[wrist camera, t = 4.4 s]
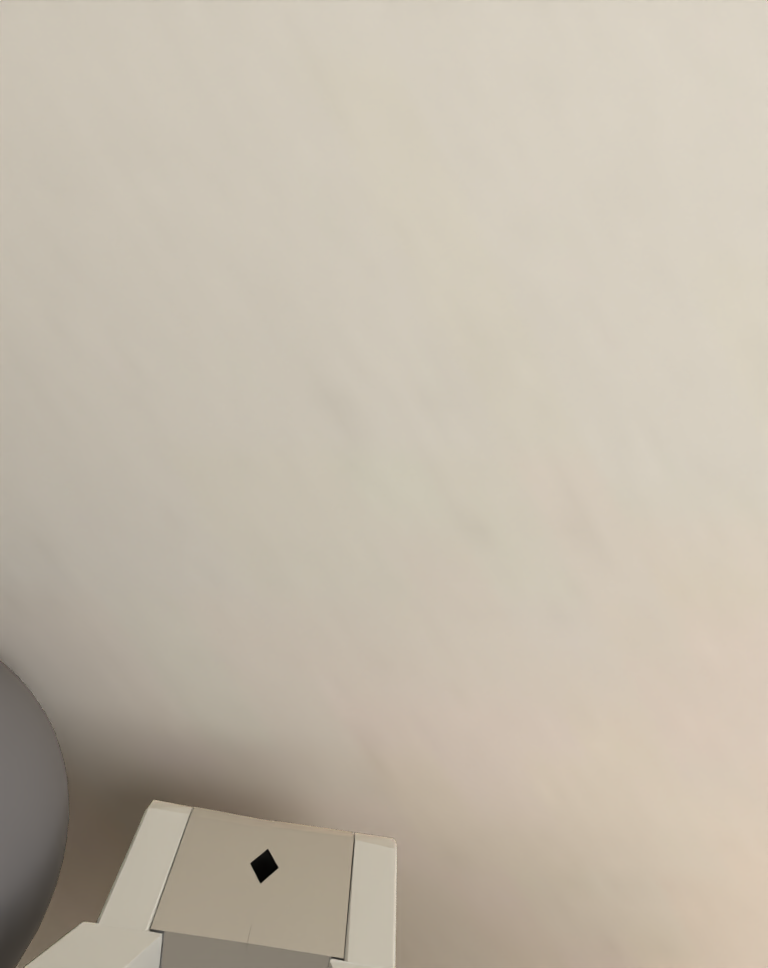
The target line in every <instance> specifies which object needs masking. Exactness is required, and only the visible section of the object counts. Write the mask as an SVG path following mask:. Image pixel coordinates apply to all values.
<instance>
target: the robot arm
mask: <svg viewBox="0 0 768 968" xmlns="http://www.w3.org/2000/svg"><path fill="white" fill-rule="evenodd" d="M396 877H397V845H396V842H395V840H394V838H388V837H381V836H375V835H368V834H362V833H354V835H353V832H350V831H343V830H337V829H330V828H323V827H316V826H309V825H303V824H296V823H289V822H282V821H270V820H264V819H259V818H254V817H248V816H243V815H238V814H232V813H227V812H221V811H216V810H211V809H205V808H200V807H191V806H185V805H180V804H174V803H169V802H164V801H158V800H153V801H152V802H151V804H150V805H149V806H148V808H147V809H146V810H145V812H144V815H143V817H142V819H141V822H140V824H139V826H138V828H137V831H136V833H135V835H134V838H133V840H132V842H131V845H130V847H129V849H128V851H127V854H126V856H125V858H124V861H123V863H122V865H121V868H120V870H119V872H118V874H117V877H116V879H115V881H114V884H113V886H112V888H111V890H110V893H109V895H108V897H107V900H106V902H105V904H104V907H103V909H102V911H101V913H100V916H99V918H98V920H97V923H94V922H85V921H83V922H81V923H80V924H79V925H77V926H76V927H75V928H74V929H72V930H71V931H70V932H68V933H67V934H66V935H65V936H63V937H62V938H61V939H59V940H58V941H57V942H56V943H54V944H53V945H52V946H50V947H49V948H48V949H47V950H45V951H44V952H43V953H41V954H40V955H39V956H38V957H36V958H35V959H34V960H32V961H31V962H30V963H29V964H27V965H26V966H25V967H23V968H395V960H396Z"/></svg>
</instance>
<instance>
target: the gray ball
mask: <svg viewBox="0 0 768 968" xmlns="http://www.w3.org/2000/svg"><path fill="white" fill-rule="evenodd" d="M68 822H69V795H68V781H67V775H66V769H65V763H64V759H63V756H62V753H61V750H60V746H59V743H58V740H57V737H56V735H55V732H54V729H53V727H52V725H51V723H50V721H49V719H48V717H47V715H46V713H45V712H44V710H43V709H42V707H41V706H40V704H39V703H38V701H37V700H36V698H35V697H34V695H33V694H32V693H31V691H30V690H29V689H28V688H27V686H26V685H25V684H24V683H23V682H22V681H21V680H20V678H19V677H18V676H17V675H16V674H15V673H14V672H12V671H11V670H10V669H9V668H8V667H7V666H6V665H5V664H4V663H2V662H1V661H0V968H15V967H16V966H17V964H18V962H19V961H20V959H21V957H22V956H23V954H24V952H25V951H26V949H27V947H28V946H29V944H30V942H31V940H32V939H33V937H34V935H35V934H36V932H37V930H38V928H39V926H40V924H41V922H42V919H43V917H44V915H45V912H46V910H47V908H48V905H49V903H50V900H51V898H52V895H53V892H54V889H55V887H56V884H57V880H58V877H59V873H60V869H61V866H62V862H63V858H64V852H65V846H66V840H67V831H68Z"/></svg>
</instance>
